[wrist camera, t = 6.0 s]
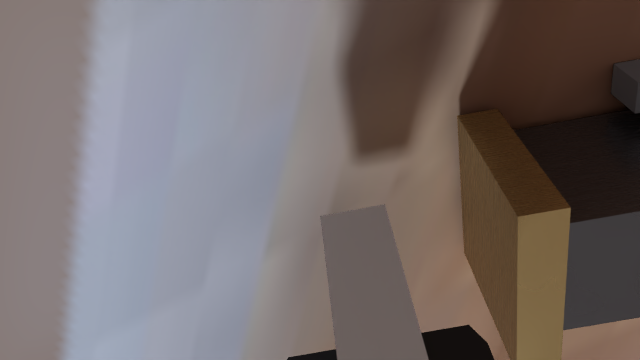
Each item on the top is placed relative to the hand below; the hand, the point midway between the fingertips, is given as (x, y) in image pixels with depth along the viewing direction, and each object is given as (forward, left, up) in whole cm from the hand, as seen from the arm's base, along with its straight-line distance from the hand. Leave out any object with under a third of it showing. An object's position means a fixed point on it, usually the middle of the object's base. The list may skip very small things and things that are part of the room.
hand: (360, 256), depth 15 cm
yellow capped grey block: (+6, 0, -2) cm, 7 cm away
